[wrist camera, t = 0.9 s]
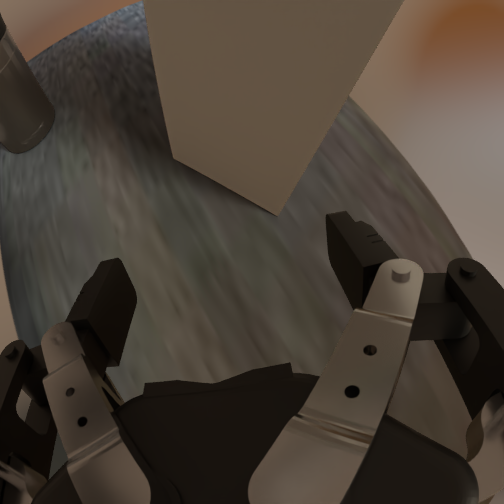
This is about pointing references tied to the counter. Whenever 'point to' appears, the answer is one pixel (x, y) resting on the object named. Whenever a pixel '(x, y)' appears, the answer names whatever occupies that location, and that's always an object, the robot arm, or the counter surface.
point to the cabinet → (258, 83)
